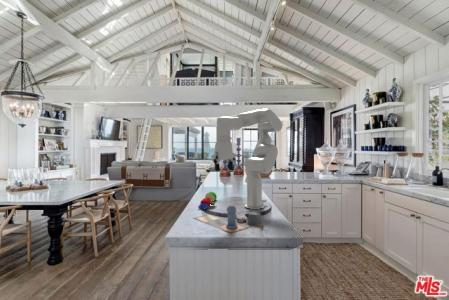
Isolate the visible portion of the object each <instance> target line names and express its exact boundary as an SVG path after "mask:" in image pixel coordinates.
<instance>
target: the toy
mask: <svg viewBox="0 0 449 300" xmlns="http://www.w3.org/2000/svg"><path fill="white" fill-rule="evenodd" d="M216 202H219V201H218V200H217V194H216V193H215V192H213V191H209V192H206V193H205V196H204V198H202V199H201V201H200V203H199V205H198V206H197V208H198V209H200V210H203V208H206V207H207V208H209V207H210V204H211V205H214V206H215V204H216ZM208 206H209V207H208Z"/></svg>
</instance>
